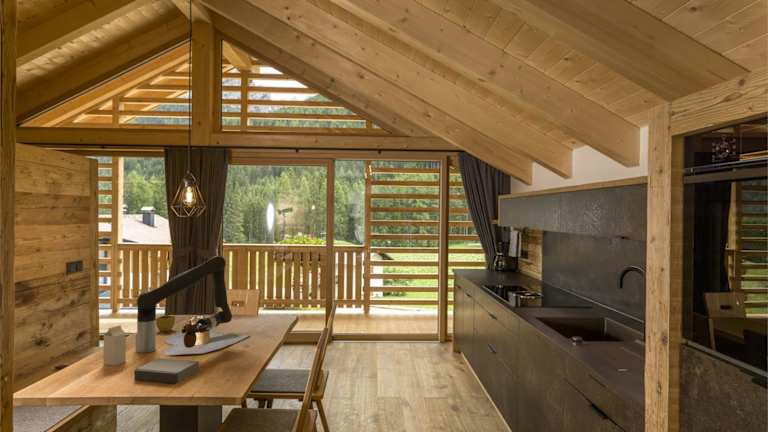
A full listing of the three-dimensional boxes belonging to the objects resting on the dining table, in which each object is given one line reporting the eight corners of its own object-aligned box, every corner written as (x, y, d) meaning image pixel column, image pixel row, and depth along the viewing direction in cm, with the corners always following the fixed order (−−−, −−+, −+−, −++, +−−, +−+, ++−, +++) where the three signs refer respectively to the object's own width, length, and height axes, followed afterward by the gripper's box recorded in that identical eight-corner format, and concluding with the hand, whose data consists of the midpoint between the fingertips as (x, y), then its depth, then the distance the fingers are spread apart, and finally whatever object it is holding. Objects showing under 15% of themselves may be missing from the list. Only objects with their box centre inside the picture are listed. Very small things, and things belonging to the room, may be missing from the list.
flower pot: (167, 332, 298) (167, 319, 298) (155, 332, 300) (155, 318, 299) (175, 329, 306) (175, 315, 306) (164, 328, 308) (164, 315, 308)
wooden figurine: (186, 344, 244) (186, 316, 244) (197, 344, 245) (198, 316, 244) (182, 348, 237) (182, 319, 237) (193, 348, 238) (193, 319, 238)
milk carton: (125, 362, 241) (125, 325, 241) (113, 366, 234) (113, 328, 234) (115, 360, 243) (115, 324, 243) (103, 364, 237) (103, 327, 236)
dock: (134, 380, 216) (134, 369, 215) (159, 367, 232) (159, 358, 232) (176, 384, 211) (176, 373, 211) (198, 371, 228) (198, 361, 228)
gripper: (194, 316, 256) (174, 323, 239) (218, 318, 253) (199, 325, 237) (194, 329, 256) (174, 338, 240) (217, 331, 253) (199, 340, 237)
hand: (187, 331), depth 238 cm, fingers closed on wooden figurine, 4 cm apart
